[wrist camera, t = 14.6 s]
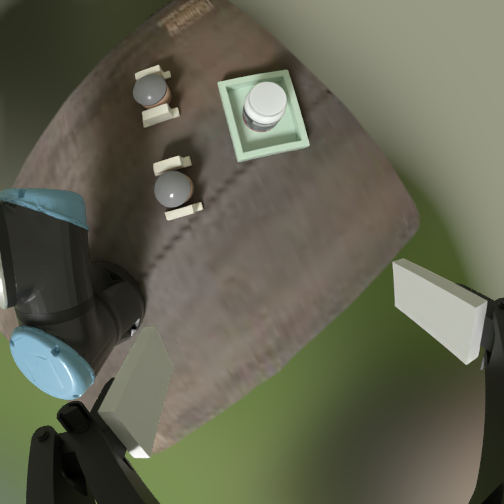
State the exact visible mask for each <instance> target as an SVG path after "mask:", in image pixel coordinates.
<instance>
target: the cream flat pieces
mask: <svg viewBox="0 0 504 504" xmlns="http://www.w3.org/2000/svg"><path fill="white" fill-rule="evenodd" d="M148 74H157V75H160V76H161V77H163V78H164V80H165V79H169V78H171V74H170V71H167V72H163V71H162V69H161V67H160V66H159V65H157V66H154V67H151V68H148V69H145V70H142V71H140V72H137V73H135V77H136V80H137V81H138V80H139V79H140V78H142V77H143V76H145V75H148ZM142 115H143V119H142V120H143V125H144V127H145V128H146V127H149V126H152V125H155V124H158V123H161V122H164V121H167V120H170V119H173V118H176V117H179V116H180V114H179V110H178V107H176V108H173V109H171V108H170V107H169V105H168V104H167V103H166V104H163V105H160V106H157V107H154V108H151V109H148V110H146V111H143V112H142ZM153 165H154V167H153V169H154V173H155V176H159V175H162V174H163V173H165V172H168V171H175V170H178V169H181V168H185V167H188V166H191V165H192V164H191V160H190V156H187V157H184V158H182V157H181V156H176V157H172V158H169V159H166V160H163V161H160V162H157V163H154V164H153ZM199 210H203V206H202V202H199V203H195V204H192V205H188V206H185V207H181V208H178V209H175V210H171V211H168V212H165V215H166V219H167V220H172V219H175V218H179V217H182V216H186V215H189V214H193V213H195V212H196V211H199Z"/></svg>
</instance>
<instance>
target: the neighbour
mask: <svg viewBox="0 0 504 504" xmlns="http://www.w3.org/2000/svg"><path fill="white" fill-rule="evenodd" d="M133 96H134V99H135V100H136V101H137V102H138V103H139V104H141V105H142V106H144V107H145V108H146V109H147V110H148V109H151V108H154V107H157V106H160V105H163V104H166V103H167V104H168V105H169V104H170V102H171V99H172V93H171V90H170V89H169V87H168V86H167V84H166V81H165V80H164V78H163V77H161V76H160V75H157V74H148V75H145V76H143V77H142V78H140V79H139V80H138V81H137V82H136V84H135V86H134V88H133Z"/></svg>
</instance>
